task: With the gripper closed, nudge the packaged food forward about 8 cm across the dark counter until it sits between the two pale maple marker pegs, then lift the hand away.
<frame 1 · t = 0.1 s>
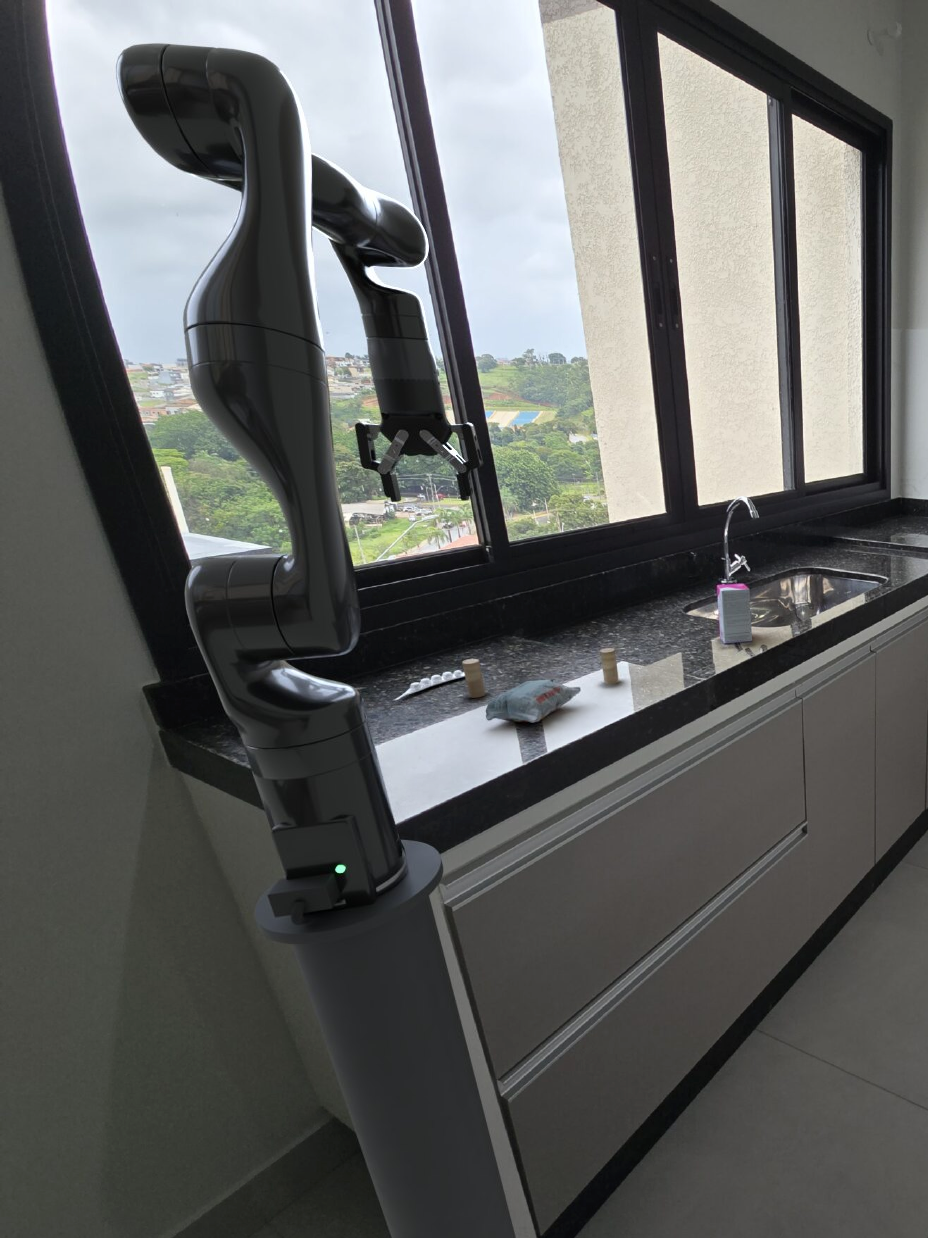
hand: (431, 500, 104), 33 cm above the countertop, tool pointing down, fingers open, 8 cm apart
packaged food: (537, 716, 115), on the countertop
supplement box: (736, 641, 152), on the countertop
pea pod: (435, 687, 126), on the countertop
marker peg right: (611, 682, 129), on the countertop
marker peg left: (477, 695, 123), on the countertop
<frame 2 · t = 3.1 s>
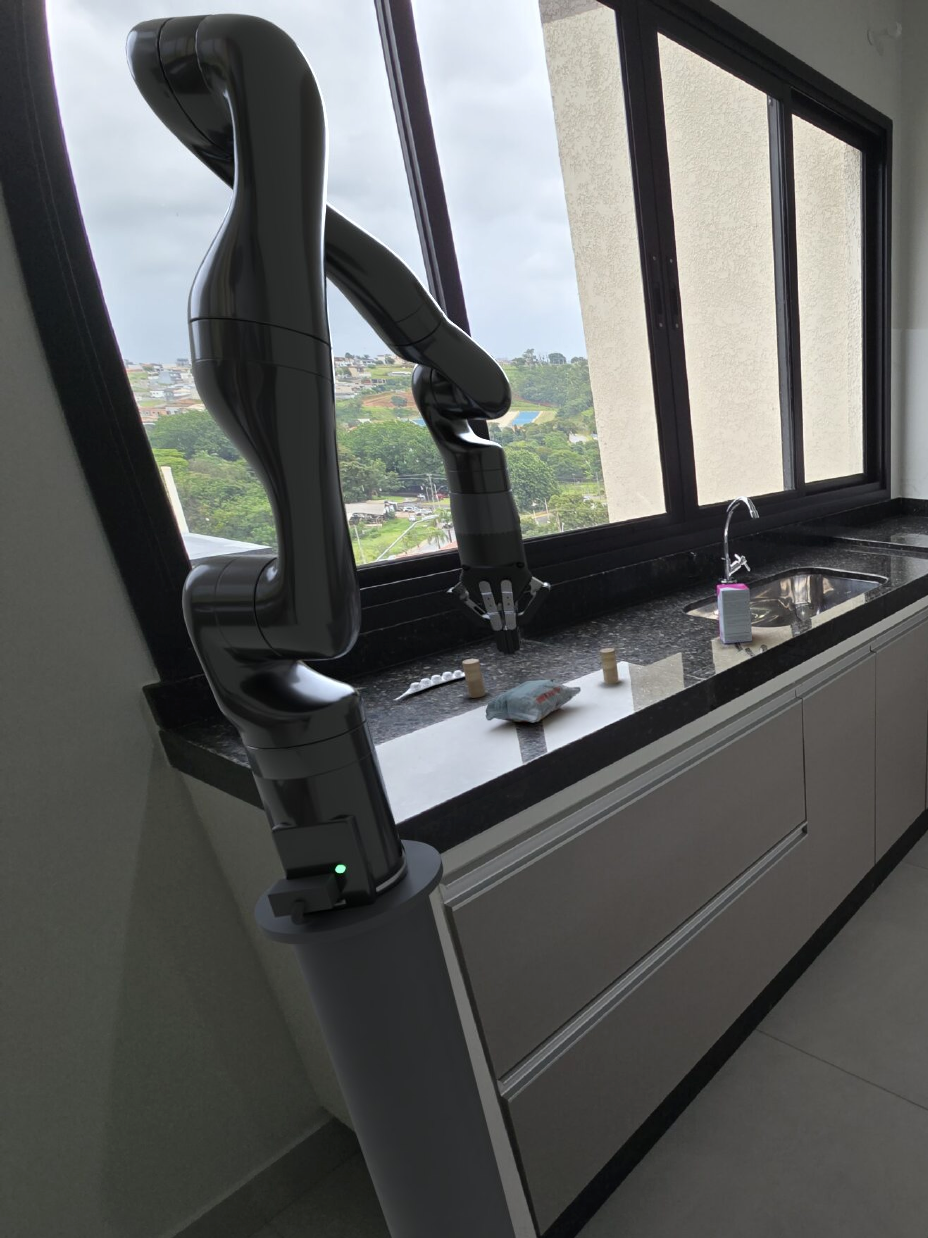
hand: (511, 653, 101), 14 cm above the countertop, tool pointing down, fingers closed
nothing on the countertop moved.
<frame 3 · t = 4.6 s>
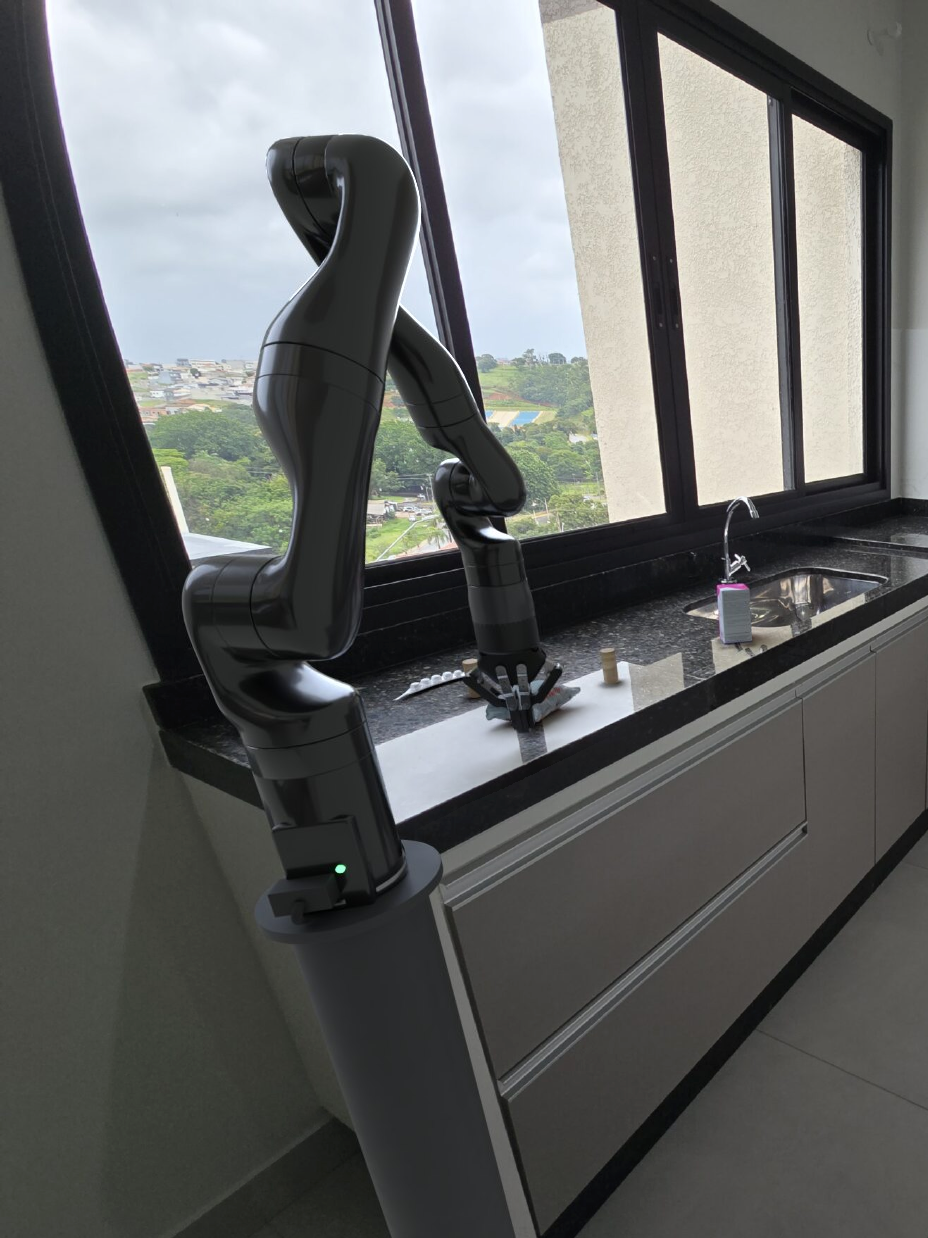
hand: (525, 730, 105), 2 cm above the countertop, tool pointing down, fingers closed
nothing on the countertop moved.
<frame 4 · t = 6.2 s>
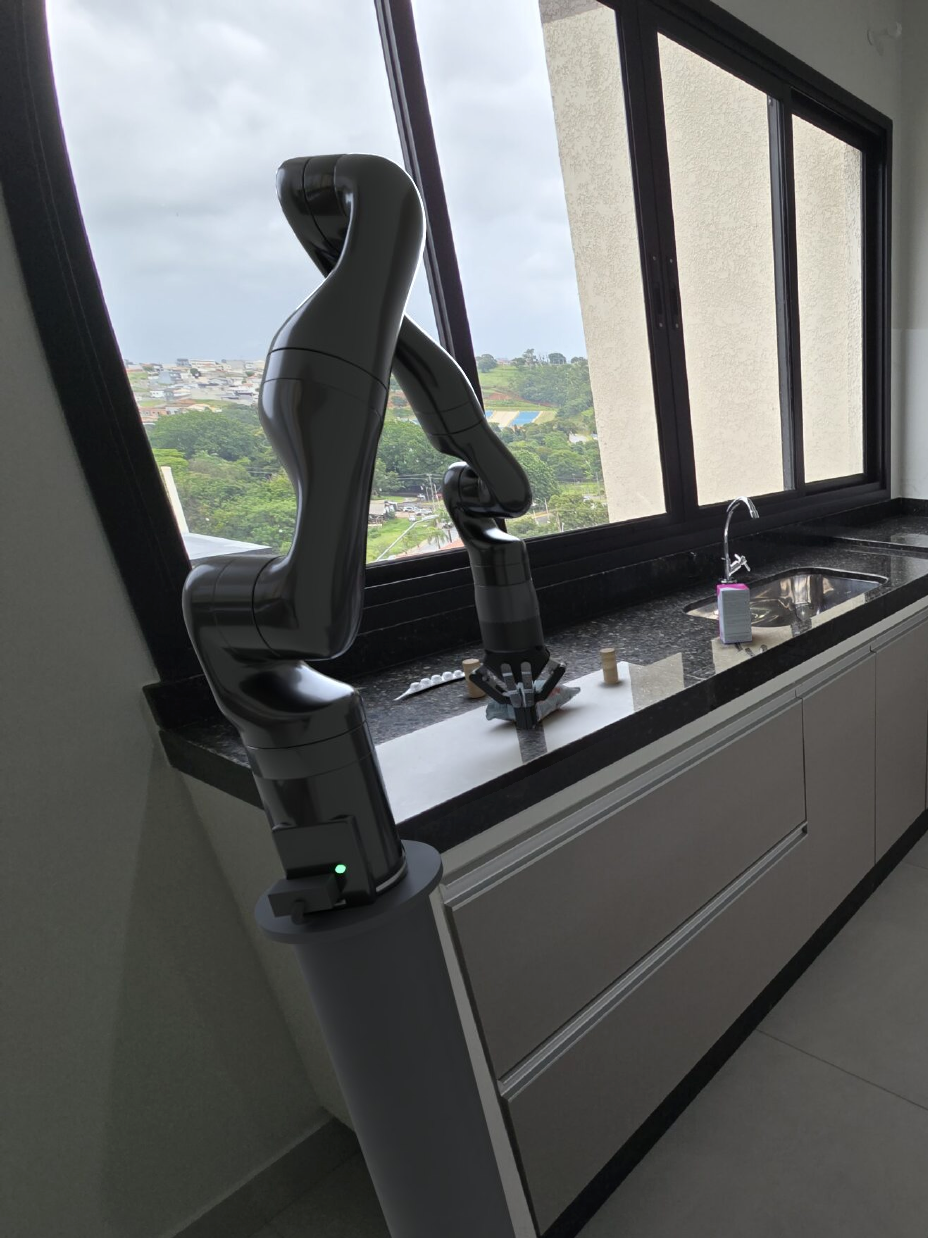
hand: (529, 727, 107), 2 cm above the countertop, tool pointing down, fingers closed
packaged food: (537, 716, 115), on the countertop, touching gripper
everything else where it was.
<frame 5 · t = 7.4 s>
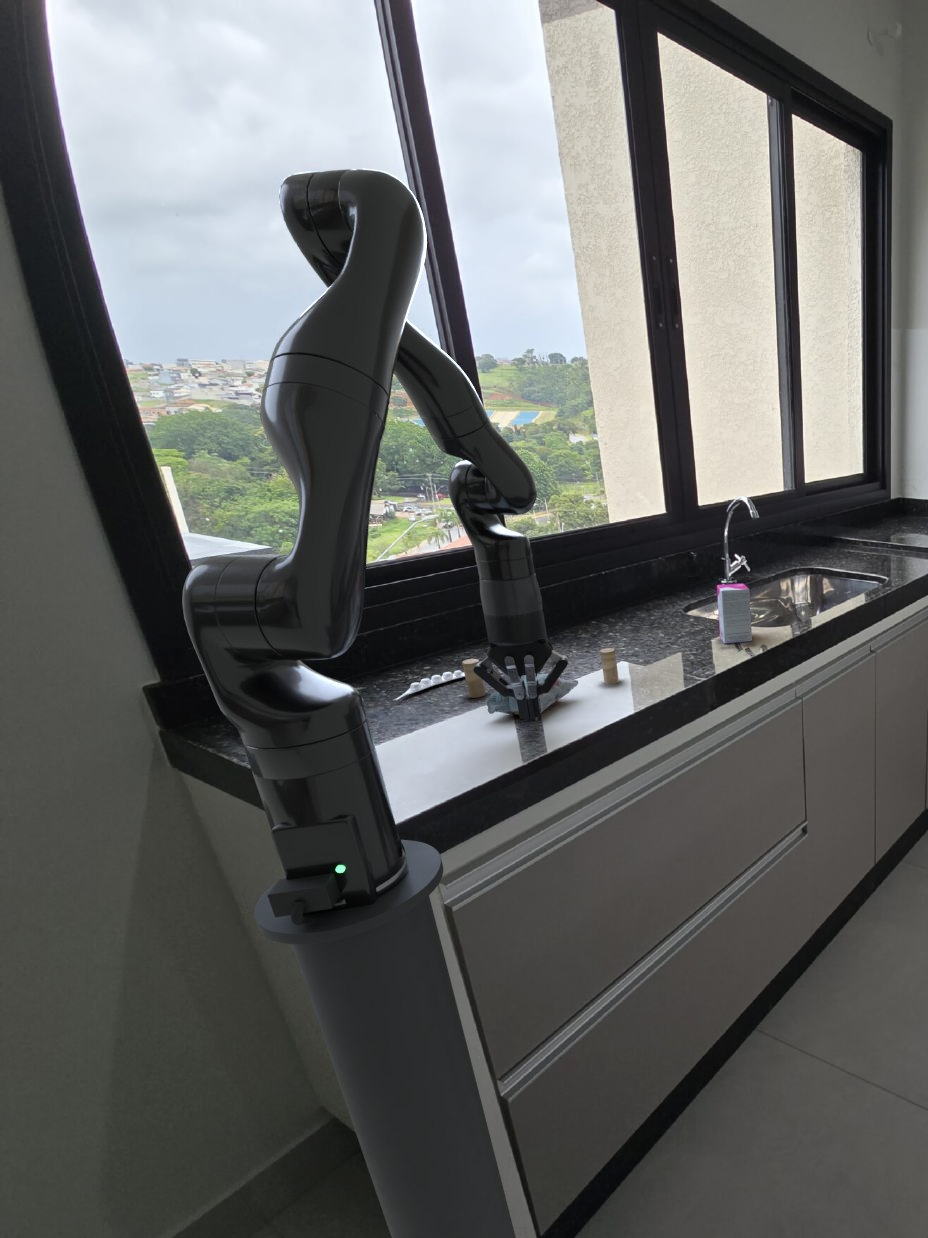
hand: (531, 719, 110), 2 cm above the countertop, tool pointing down, fingers closed
packaged food: (537, 709, 118), on the countertop, touching gripper
everything else where it was.
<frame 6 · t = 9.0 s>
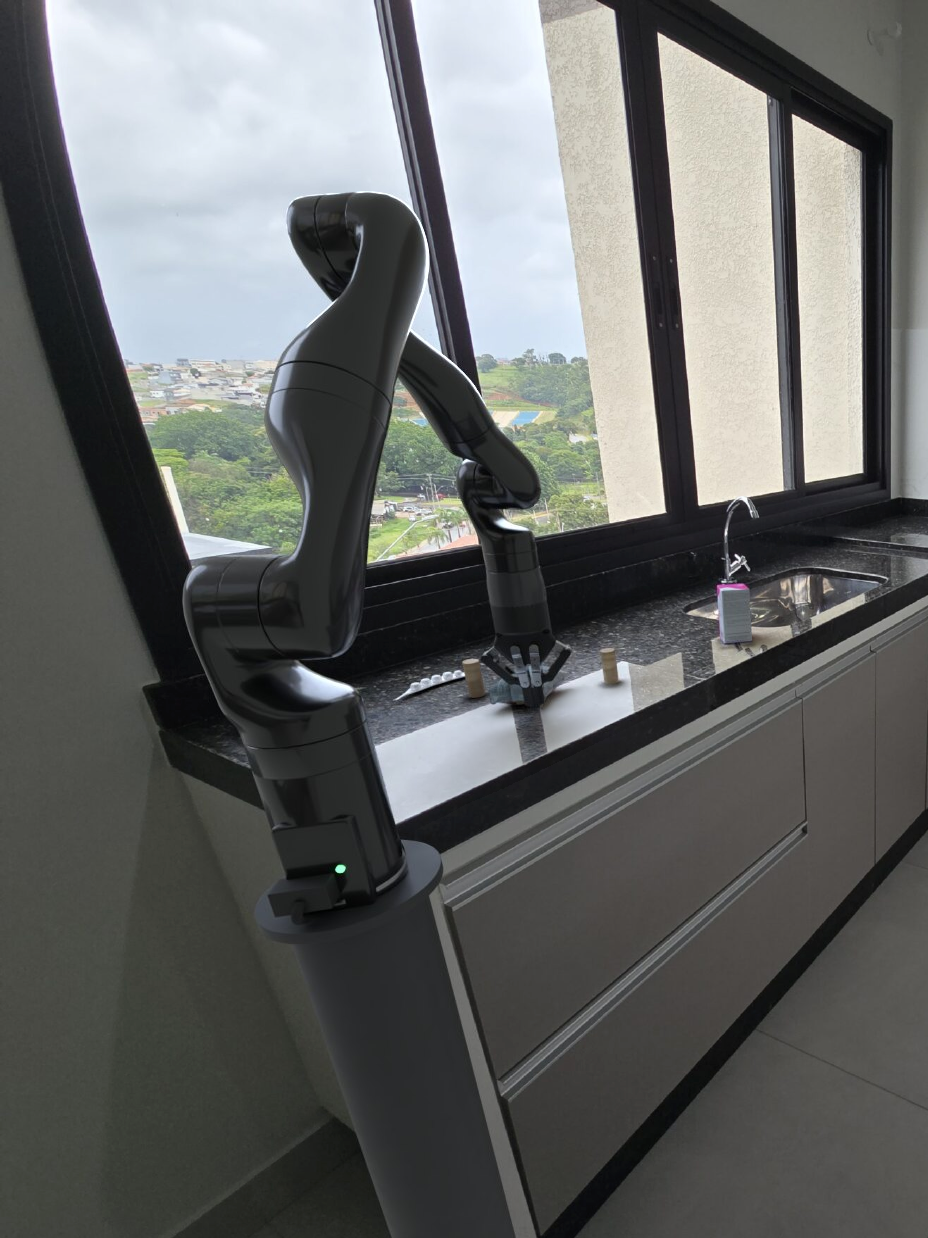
hand: (536, 707, 114), 2 cm above the countertop, tool pointing down, fingers closed
packaged food: (534, 699, 122), on the countertop, touching gripper
everything else where it was.
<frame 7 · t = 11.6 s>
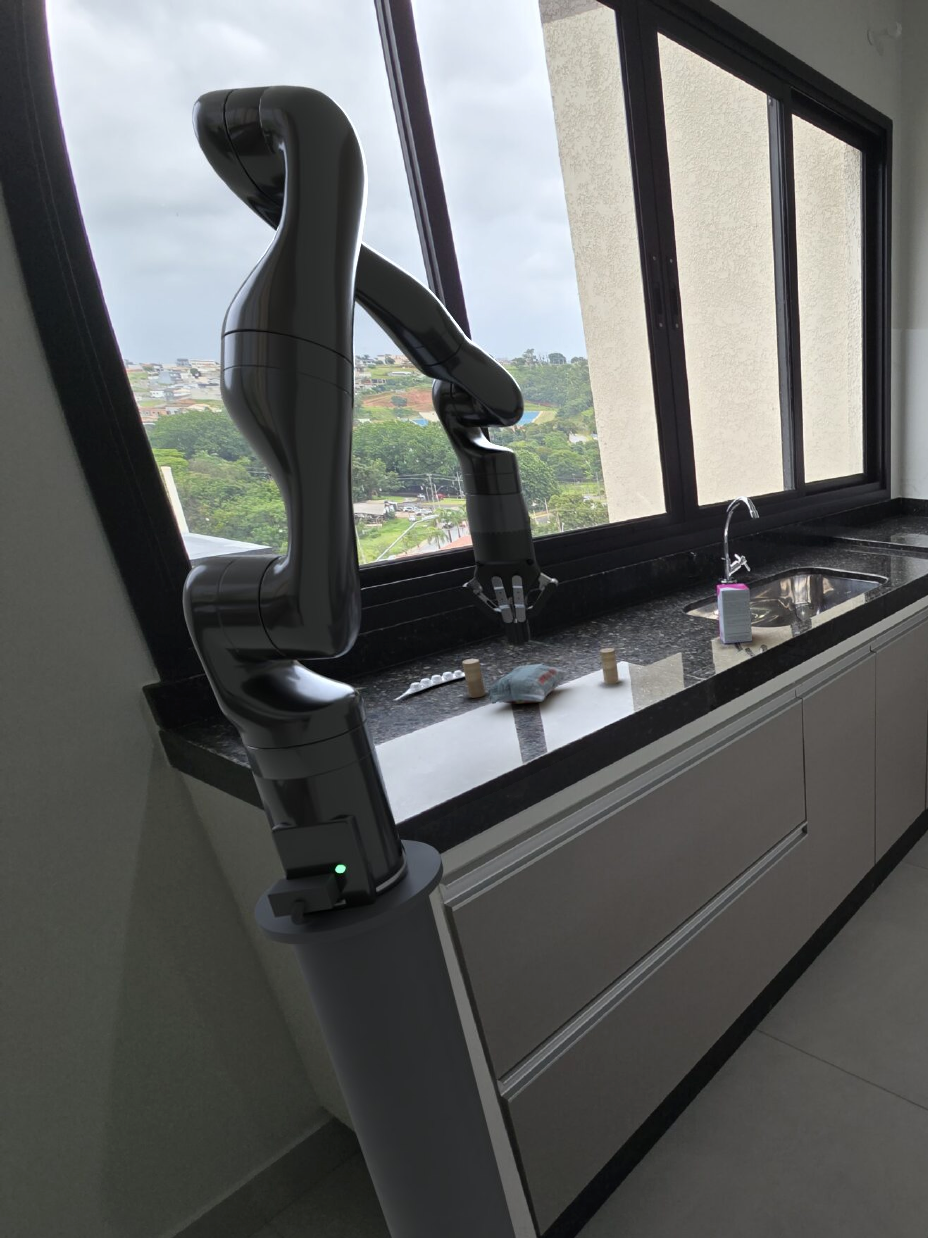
hand: (520, 645, 108), 13 cm above the countertop, tool pointing down, fingers closed
packaged food: (534, 698, 122), on the countertop
everything else where it was.
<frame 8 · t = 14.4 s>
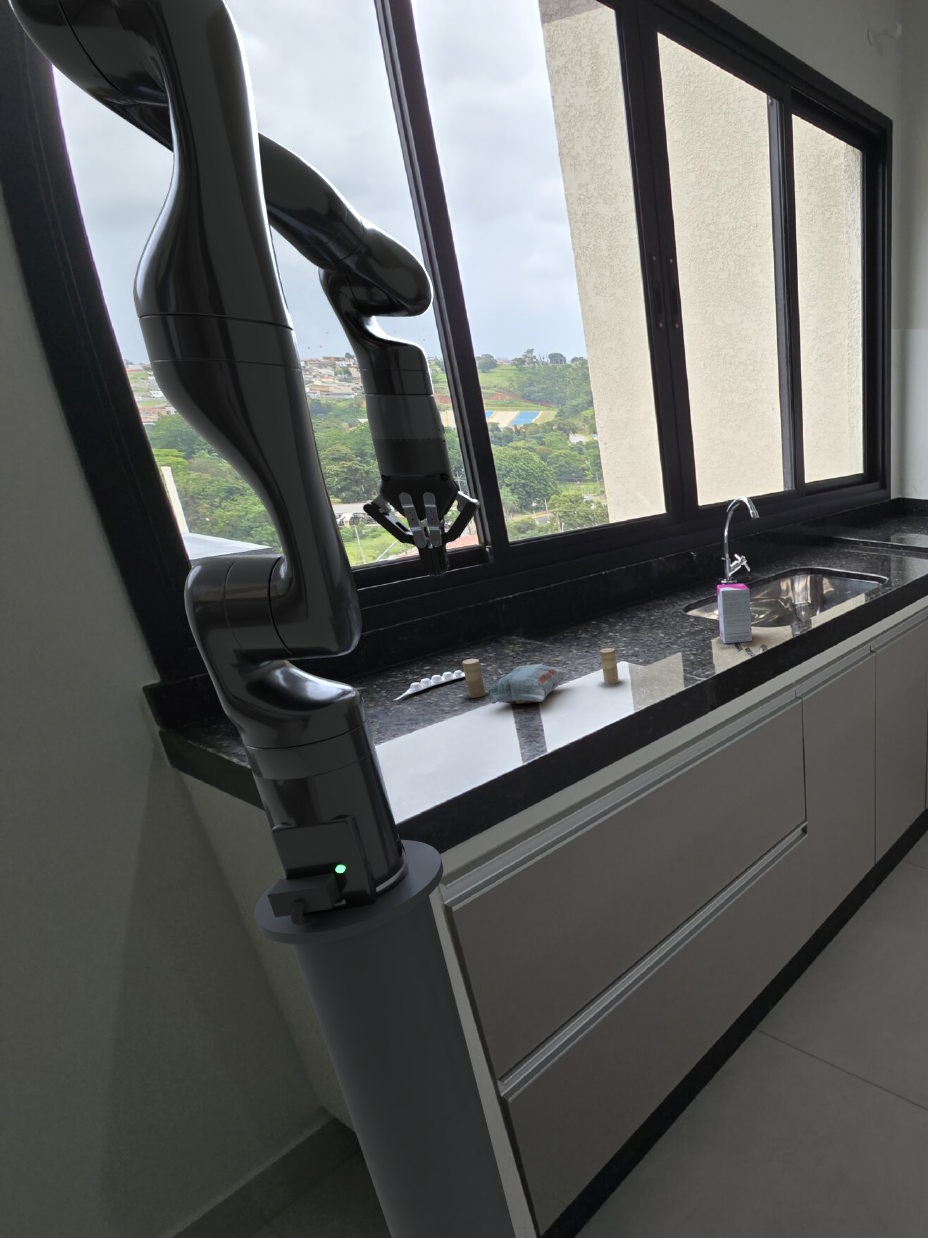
hand: (437, 574, 95), 25 cm above the countertop, tool pointing down, fingers closed
nothing on the countertop moved.
at the end: packaged food inside the target area (2.3 cm from its centre), on the countertop; packaged food moved 8.3 cm from its start; packaged food tilted 0° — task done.
